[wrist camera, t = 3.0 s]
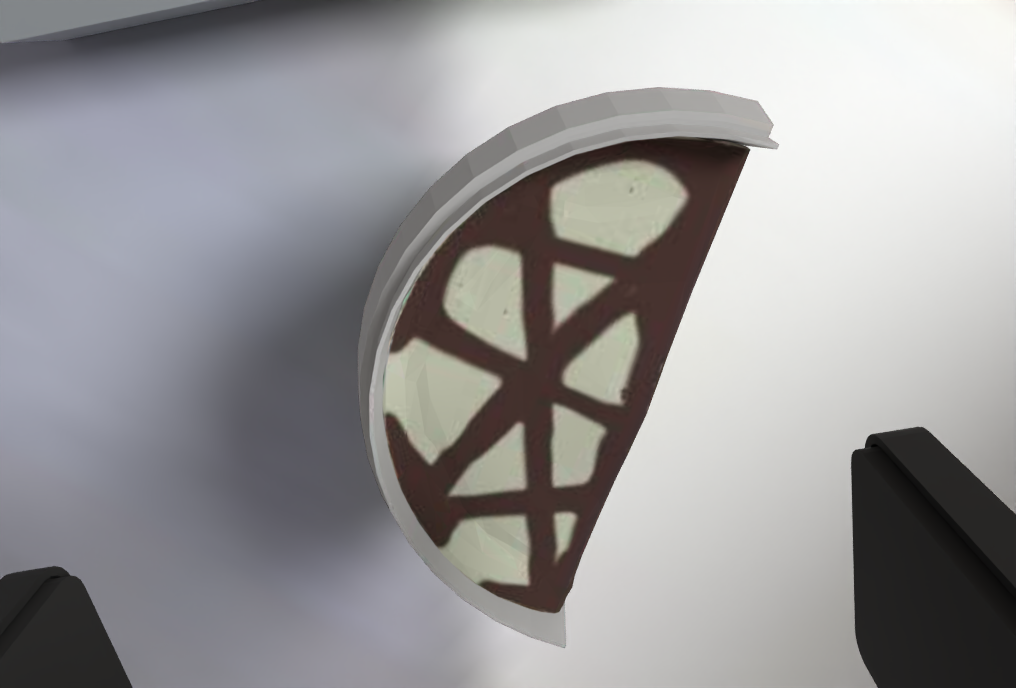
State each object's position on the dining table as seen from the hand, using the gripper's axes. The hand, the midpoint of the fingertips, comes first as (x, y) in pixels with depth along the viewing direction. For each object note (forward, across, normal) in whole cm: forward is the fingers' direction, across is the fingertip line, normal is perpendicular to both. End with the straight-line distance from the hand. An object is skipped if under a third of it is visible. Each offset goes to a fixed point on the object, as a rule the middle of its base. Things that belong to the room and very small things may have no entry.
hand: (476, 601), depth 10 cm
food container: (+16, 0, 0) cm, 16 cm away
